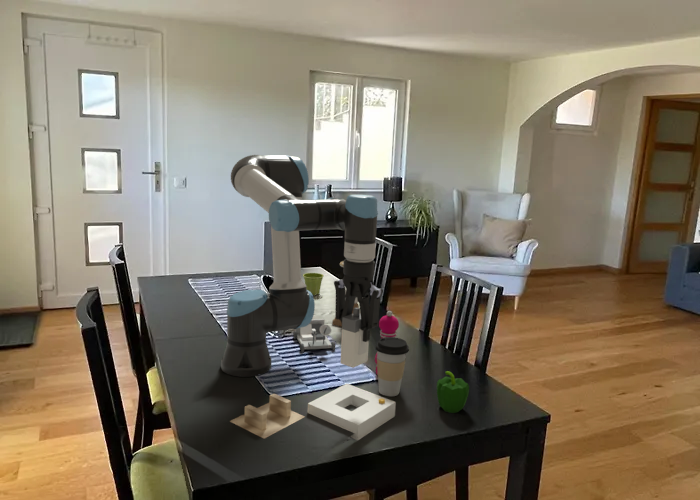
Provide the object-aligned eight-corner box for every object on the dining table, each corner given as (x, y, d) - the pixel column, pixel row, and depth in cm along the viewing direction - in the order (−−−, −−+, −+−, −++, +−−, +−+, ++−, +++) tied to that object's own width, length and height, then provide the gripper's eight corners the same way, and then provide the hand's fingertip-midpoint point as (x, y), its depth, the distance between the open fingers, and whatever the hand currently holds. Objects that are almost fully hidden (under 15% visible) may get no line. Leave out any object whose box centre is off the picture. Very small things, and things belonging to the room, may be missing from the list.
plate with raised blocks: (229, 426, 135) (229, 405, 134) (271, 406, 146) (271, 387, 145) (264, 444, 128) (264, 422, 127) (305, 422, 139) (305, 401, 138)
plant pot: (322, 296, 250) (323, 278, 249) (301, 295, 250) (302, 277, 249) (323, 291, 260) (324, 273, 258) (303, 290, 260) (304, 272, 258)
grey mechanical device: (338, 326, 183) (303, 328, 180) (337, 354, 185) (303, 357, 181) (325, 310, 200) (293, 311, 196) (324, 336, 202) (293, 338, 198)
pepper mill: (400, 371, 173) (404, 309, 169) (394, 380, 166) (398, 316, 162) (377, 367, 175) (381, 306, 171) (371, 375, 168) (374, 312, 164)
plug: (340, 363, 138) (342, 309, 136) (355, 356, 143) (357, 304, 140) (353, 367, 136) (355, 313, 133) (367, 361, 141) (370, 307, 138)
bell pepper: (472, 414, 147) (475, 379, 145) (444, 417, 145) (447, 381, 143) (457, 400, 155) (460, 366, 153) (430, 403, 152) (433, 368, 151)
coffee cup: (370, 384, 162) (373, 335, 159) (402, 384, 163) (406, 336, 160) (375, 399, 153) (378, 347, 150) (408, 399, 154) (412, 348, 151)
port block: (307, 418, 141) (307, 401, 140) (346, 397, 154) (346, 381, 153) (357, 440, 132) (358, 422, 131) (394, 416, 144) (395, 399, 143)
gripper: (322, 255, 137) (319, 345, 141) (379, 267, 127) (374, 364, 131) (341, 251, 143) (337, 338, 147) (397, 262, 132) (391, 355, 137)
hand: (354, 350), depth 139 cm, fingers closed on plug, 4 cm apart
